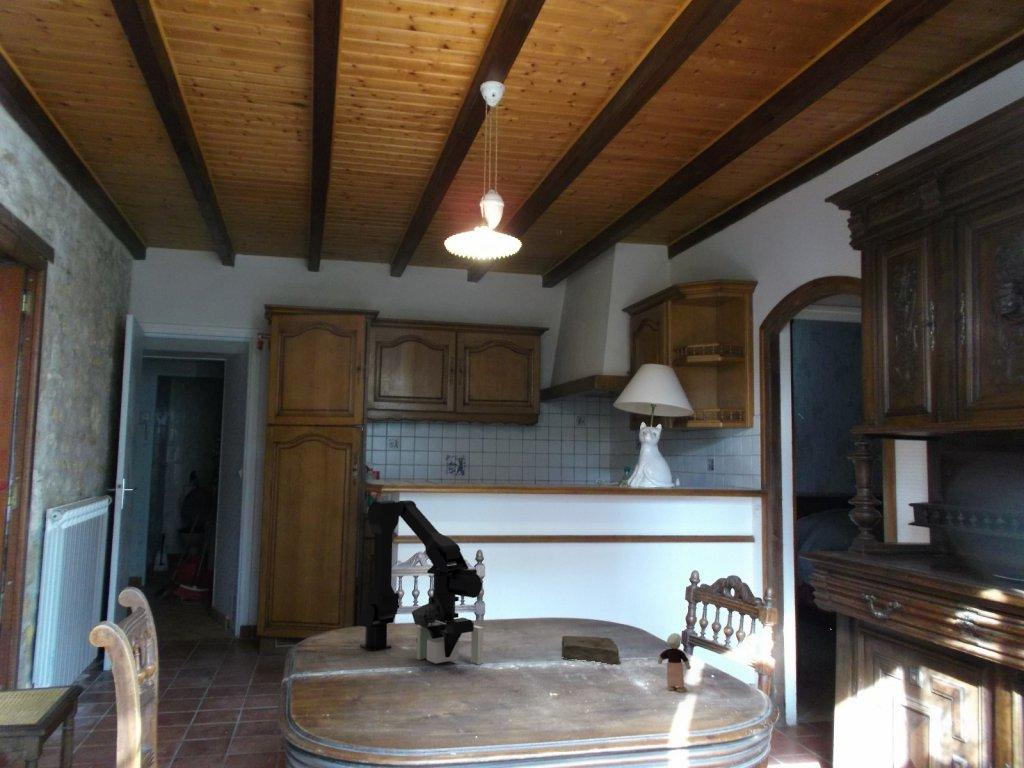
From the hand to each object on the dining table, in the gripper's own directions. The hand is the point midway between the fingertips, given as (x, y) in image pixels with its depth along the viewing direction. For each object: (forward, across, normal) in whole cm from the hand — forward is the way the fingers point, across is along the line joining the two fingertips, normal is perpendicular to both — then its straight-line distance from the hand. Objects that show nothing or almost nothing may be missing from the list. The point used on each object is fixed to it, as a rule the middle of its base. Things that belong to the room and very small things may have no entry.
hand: (442, 655), depth 202 cm
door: (+2, -8, +2) cm, 9 cm away
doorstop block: (+1, 0, 0) cm, 1 cm away
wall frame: (+2, -3, +8) cm, 9 cm away
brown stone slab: (+3, +16, +36) cm, 40 cm away
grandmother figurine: (+2, +49, +32) cm, 58 cm away
